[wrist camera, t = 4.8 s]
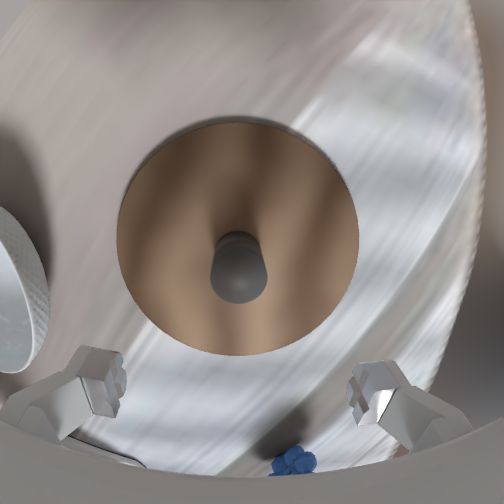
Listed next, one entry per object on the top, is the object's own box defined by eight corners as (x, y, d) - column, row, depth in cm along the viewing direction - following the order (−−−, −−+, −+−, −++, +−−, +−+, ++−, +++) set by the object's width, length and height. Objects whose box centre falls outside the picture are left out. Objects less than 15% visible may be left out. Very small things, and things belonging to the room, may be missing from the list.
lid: (370, 144, 22) (408, 143, 16) (329, 351, 28) (347, 391, 23) (125, 120, 21) (92, 111, 15) (128, 338, 27) (109, 377, 21)
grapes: (284, 476, 36) (294, 540, 24) (245, 470, 34) (250, 539, 23) (332, 438, 33) (355, 510, 21) (291, 430, 31) (307, 511, 20)
